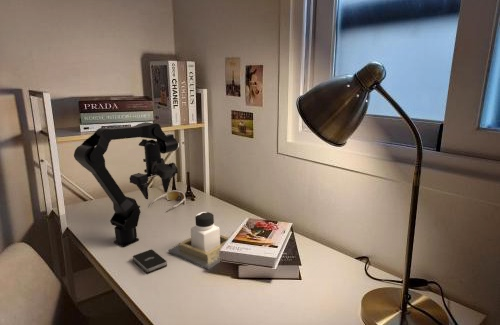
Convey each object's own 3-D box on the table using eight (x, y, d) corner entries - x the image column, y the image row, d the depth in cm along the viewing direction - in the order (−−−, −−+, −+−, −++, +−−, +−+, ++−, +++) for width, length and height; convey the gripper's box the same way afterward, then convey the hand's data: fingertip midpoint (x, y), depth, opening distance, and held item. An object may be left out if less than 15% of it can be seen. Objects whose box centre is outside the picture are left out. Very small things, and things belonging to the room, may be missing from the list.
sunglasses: (192, 203, 163) (190, 193, 161) (168, 218, 152) (166, 208, 150) (171, 197, 171) (169, 188, 169) (146, 211, 160) (144, 201, 158)
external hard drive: (152, 254, 118) (151, 248, 118) (168, 267, 110) (167, 261, 110) (132, 261, 114) (131, 256, 113) (147, 275, 106) (146, 269, 105)
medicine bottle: (220, 246, 120) (219, 213, 117) (204, 254, 115) (202, 220, 112) (207, 239, 125) (205, 208, 122) (191, 247, 120) (189, 214, 117)
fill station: (208, 269, 108) (207, 260, 107) (168, 253, 118) (167, 244, 117) (243, 246, 122) (243, 238, 121) (205, 233, 132) (204, 225, 131)
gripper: (146, 164, 119) (150, 207, 123) (186, 153, 134) (188, 192, 138) (126, 160, 125) (131, 201, 129) (166, 150, 140) (169, 187, 144)
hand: (156, 195), depth 135 cm, fingers open, 9 cm apart
